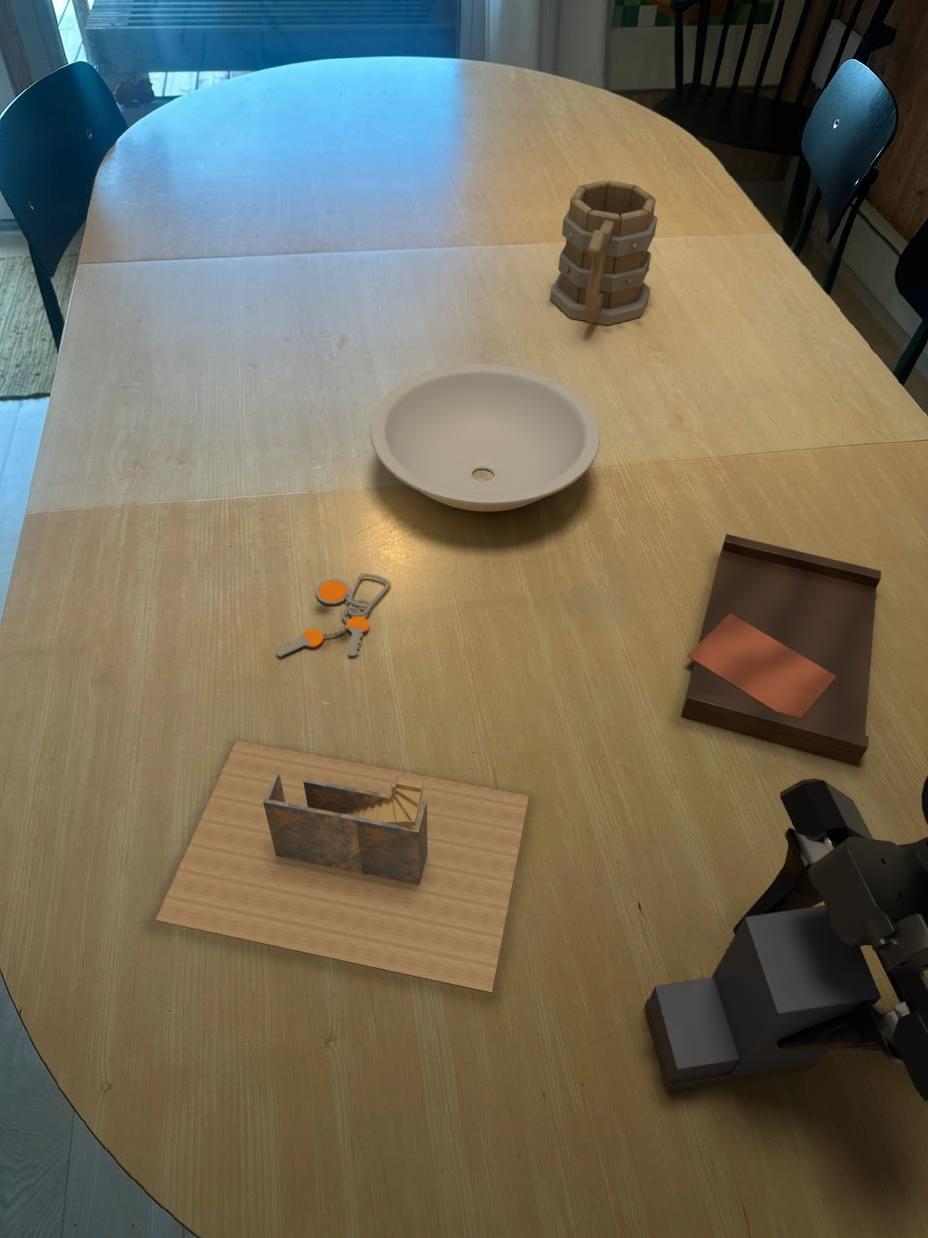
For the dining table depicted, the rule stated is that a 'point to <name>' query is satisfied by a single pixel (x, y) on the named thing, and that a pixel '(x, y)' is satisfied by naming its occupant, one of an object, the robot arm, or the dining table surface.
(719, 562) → the brown serving tray
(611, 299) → the tankard
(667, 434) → the dining table surface
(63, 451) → the dining table surface
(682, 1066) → the charcoal gray box
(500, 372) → the white vessel sink
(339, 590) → the key chain
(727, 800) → the dining table surface
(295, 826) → the architectural model on board
